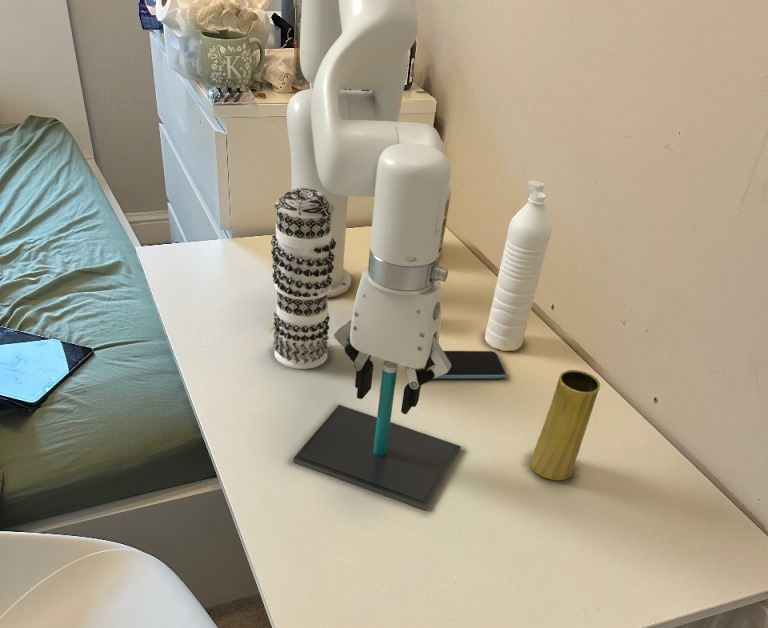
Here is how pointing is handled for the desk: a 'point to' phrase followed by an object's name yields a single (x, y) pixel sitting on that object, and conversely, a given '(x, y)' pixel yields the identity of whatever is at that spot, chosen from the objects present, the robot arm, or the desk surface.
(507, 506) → the desk surface
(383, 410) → the stylus
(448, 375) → the smartphone
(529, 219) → the water bottle
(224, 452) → the desk surface
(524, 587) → the desk surface
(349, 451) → the tablet
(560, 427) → the vase
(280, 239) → the decorative candle
